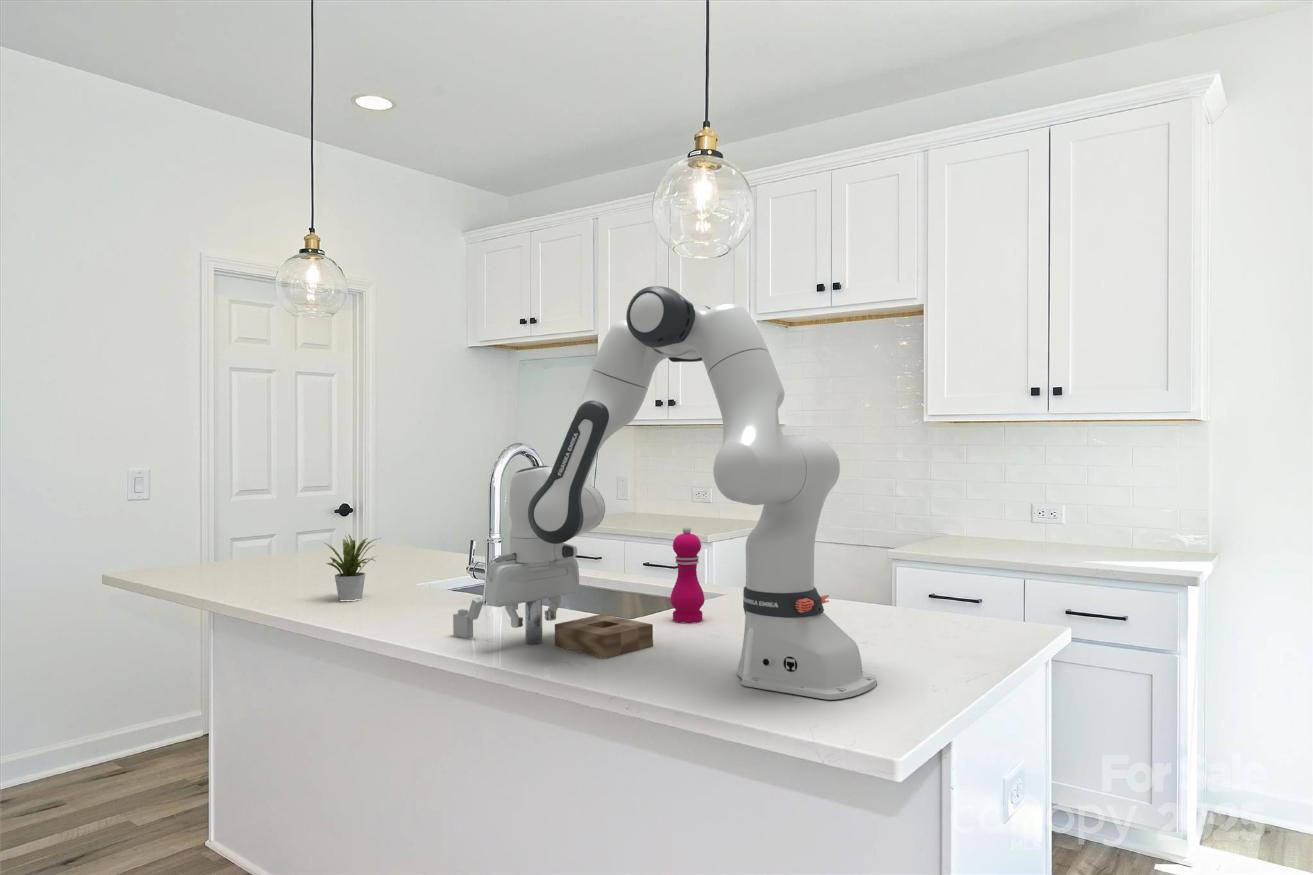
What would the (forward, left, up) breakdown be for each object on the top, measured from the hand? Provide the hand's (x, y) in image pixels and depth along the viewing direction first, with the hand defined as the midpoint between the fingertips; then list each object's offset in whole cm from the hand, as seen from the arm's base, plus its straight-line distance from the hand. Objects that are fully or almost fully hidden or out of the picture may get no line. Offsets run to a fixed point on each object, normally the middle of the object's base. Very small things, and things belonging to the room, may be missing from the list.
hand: (534, 623), depth 164 cm
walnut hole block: (-12, -7, -4) cm, 14 cm away
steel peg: (0, 0, -4) cm, 4 cm away
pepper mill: (-9, -34, -4) cm, 35 cm away
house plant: (+67, +2, -4) cm, 67 cm away
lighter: (+13, +6, -4) cm, 15 cm away
